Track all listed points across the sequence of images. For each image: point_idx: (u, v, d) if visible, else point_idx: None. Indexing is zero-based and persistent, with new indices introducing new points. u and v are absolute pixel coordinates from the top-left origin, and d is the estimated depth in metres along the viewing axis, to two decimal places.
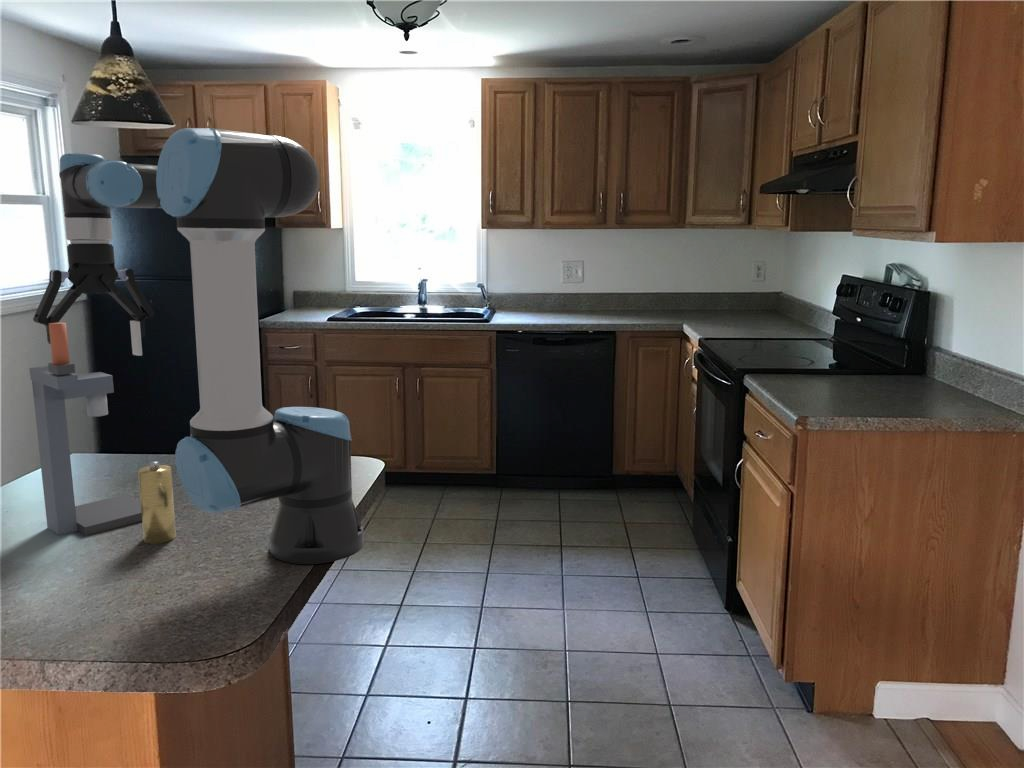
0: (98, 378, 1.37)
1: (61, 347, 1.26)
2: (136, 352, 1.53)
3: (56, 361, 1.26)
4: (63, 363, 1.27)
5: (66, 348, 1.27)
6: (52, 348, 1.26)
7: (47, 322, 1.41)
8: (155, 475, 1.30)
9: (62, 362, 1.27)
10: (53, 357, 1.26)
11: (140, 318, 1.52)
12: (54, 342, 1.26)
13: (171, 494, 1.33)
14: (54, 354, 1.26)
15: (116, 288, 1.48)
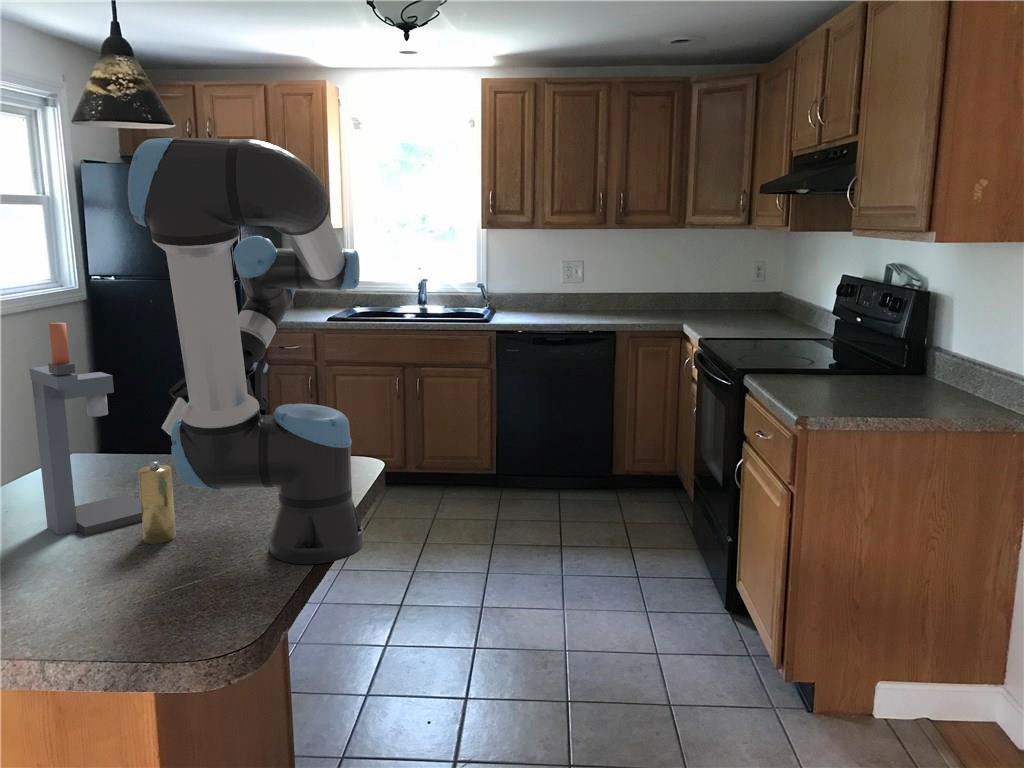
0: (98, 378, 1.37)
1: (61, 347, 1.26)
2: None
3: (56, 361, 1.26)
4: (63, 363, 1.27)
5: (66, 348, 1.27)
6: (52, 348, 1.26)
7: None
8: (155, 475, 1.30)
9: (62, 362, 1.27)
10: (53, 357, 1.26)
11: None
12: (54, 342, 1.26)
13: (171, 494, 1.33)
14: (54, 354, 1.26)
15: None
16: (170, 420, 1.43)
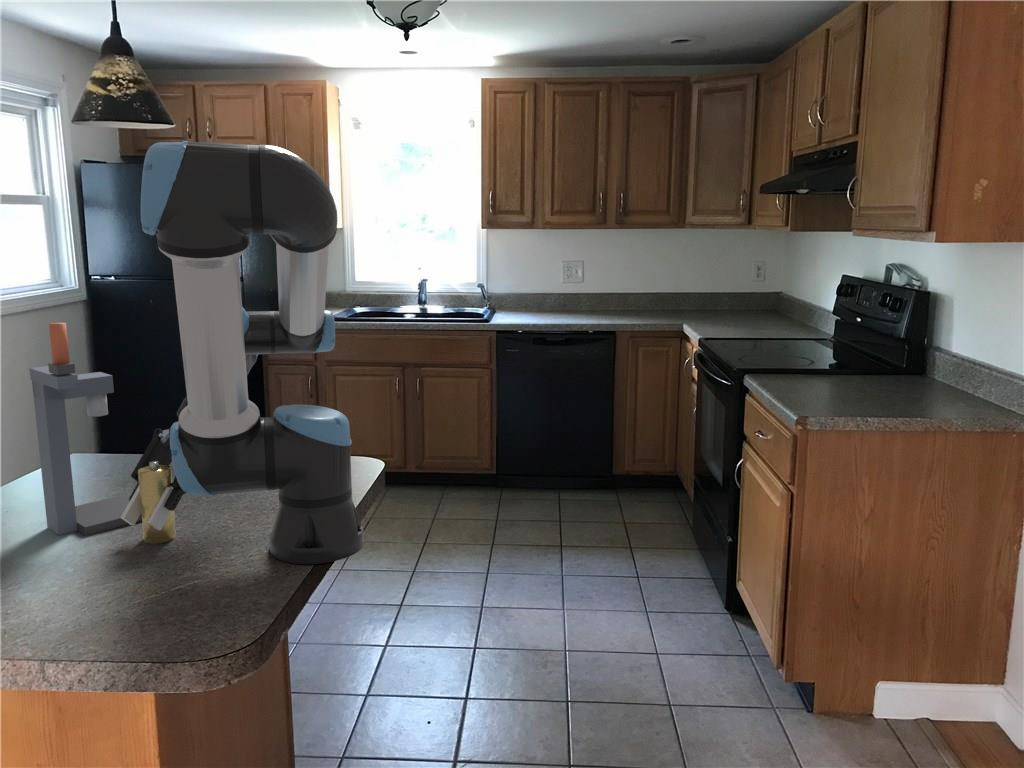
0: (98, 378, 1.37)
1: (61, 347, 1.26)
2: None
3: (56, 361, 1.26)
4: (63, 363, 1.27)
5: (66, 348, 1.27)
6: (52, 348, 1.26)
7: None
8: (155, 475, 1.30)
9: (62, 362, 1.27)
10: (53, 357, 1.26)
11: None
12: (54, 342, 1.26)
13: None
14: (54, 354, 1.26)
15: None
16: (130, 509, 1.31)
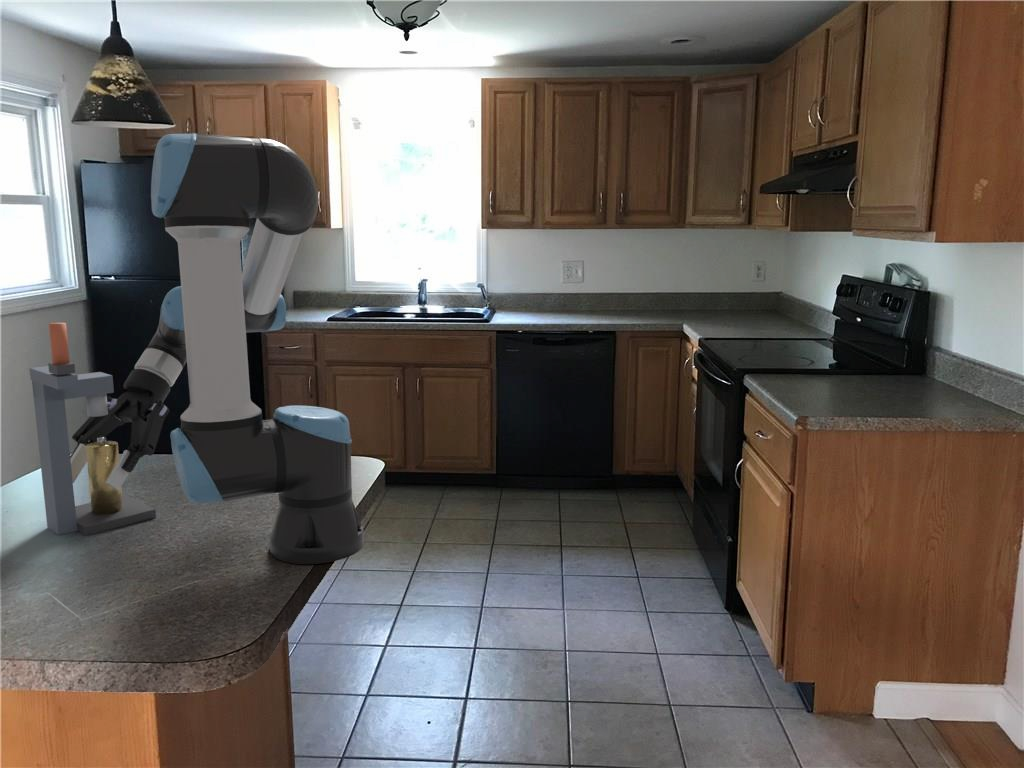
0: (98, 378, 1.37)
1: (61, 347, 1.26)
2: None
3: (56, 361, 1.26)
4: (63, 363, 1.27)
5: (66, 348, 1.27)
6: (52, 348, 1.26)
7: None
8: (101, 449, 1.39)
9: (62, 362, 1.27)
10: (53, 357, 1.26)
11: None
12: (54, 342, 1.26)
13: None
14: (54, 354, 1.26)
15: (135, 413, 1.44)
16: None
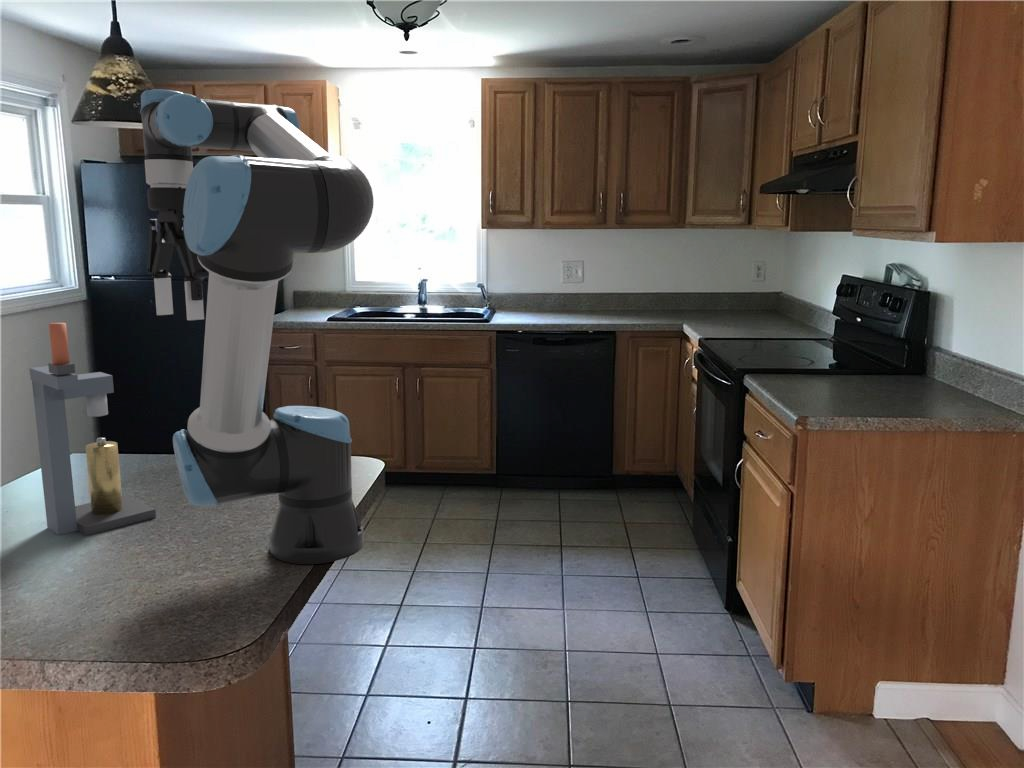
0: (98, 378, 1.37)
1: (61, 347, 1.26)
2: None
3: (56, 361, 1.26)
4: (63, 363, 1.27)
5: (66, 348, 1.27)
6: (52, 348, 1.26)
7: None
8: (101, 449, 1.39)
9: (62, 362, 1.27)
10: (53, 357, 1.26)
11: None
12: (54, 342, 1.26)
13: (117, 468, 1.42)
14: (54, 354, 1.26)
15: (173, 239, 1.35)
16: (159, 304, 1.43)
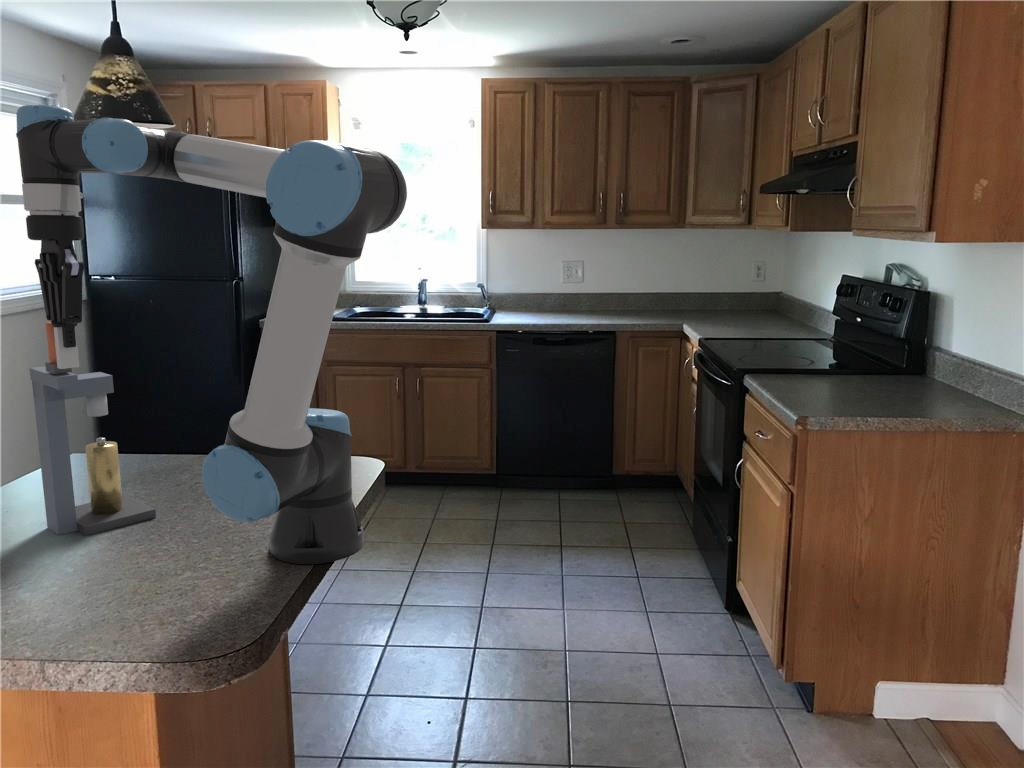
0: (98, 378, 1.37)
1: None
2: None
3: (53, 360, 1.27)
4: None
5: None
6: (49, 347, 1.27)
7: None
8: (101, 449, 1.39)
9: None
10: (50, 356, 1.27)
11: (58, 322, 1.23)
12: (51, 341, 1.27)
13: (117, 468, 1.42)
14: (51, 353, 1.27)
15: (51, 276, 1.21)
16: None
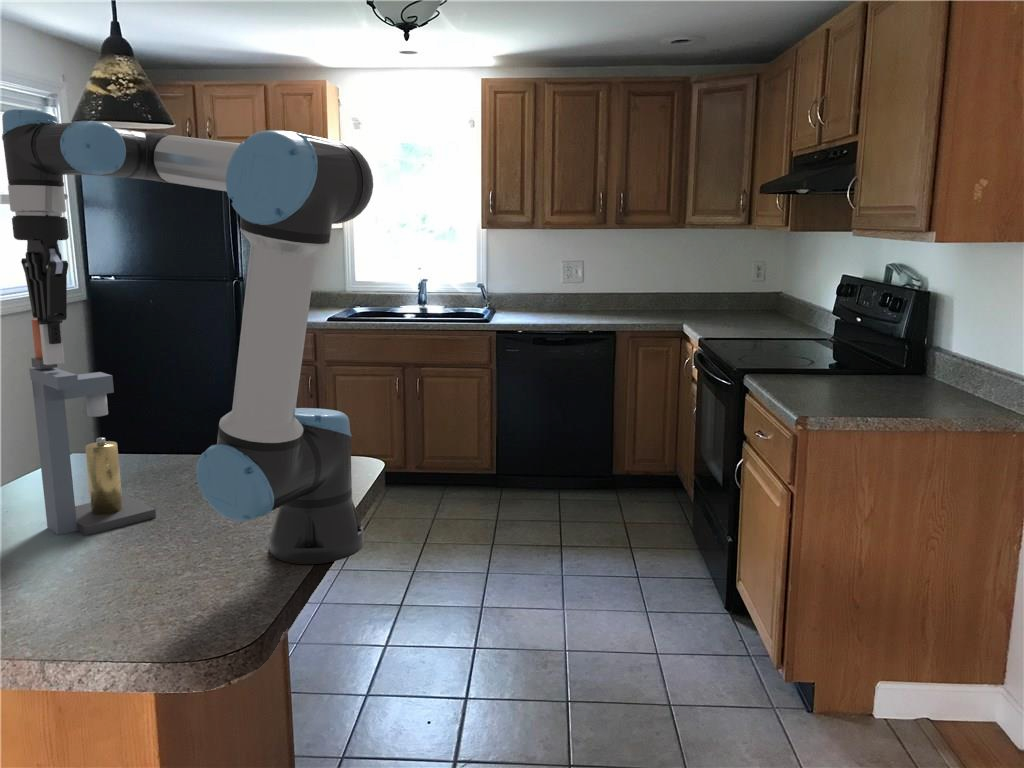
0: (98, 378, 1.37)
1: None
2: None
3: (39, 356, 1.31)
4: None
5: None
6: (35, 343, 1.31)
7: None
8: (101, 449, 1.39)
9: None
10: (36, 352, 1.31)
11: None
12: (37, 337, 1.31)
13: (117, 468, 1.42)
14: (37, 349, 1.31)
15: (37, 274, 1.25)
16: None
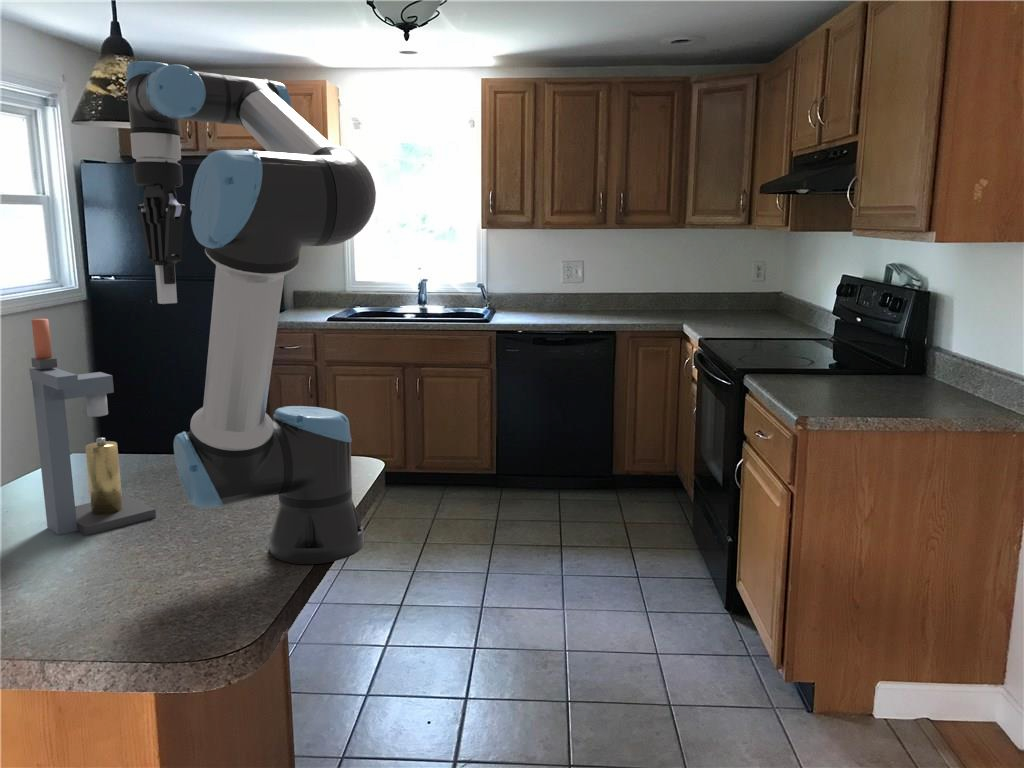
0: (98, 378, 1.37)
1: (43, 342, 1.31)
2: None
3: (39, 356, 1.31)
4: (45, 358, 1.32)
5: (48, 343, 1.32)
6: (35, 343, 1.31)
7: None
8: (101, 449, 1.39)
9: (44, 357, 1.32)
10: (36, 352, 1.31)
11: (160, 260, 1.35)
12: (37, 337, 1.31)
13: (117, 468, 1.42)
14: (37, 349, 1.31)
15: (155, 217, 1.33)
16: None
